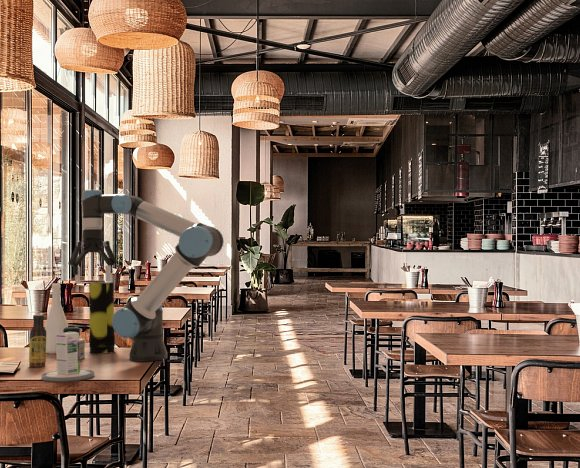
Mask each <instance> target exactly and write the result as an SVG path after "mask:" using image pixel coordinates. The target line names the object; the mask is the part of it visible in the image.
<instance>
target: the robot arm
mask: <svg viewBox="0 0 580 468" xmlns="http://www.w3.org/2000/svg"><path fill="white" fill-rule="evenodd" d="M81 203H82V229H83V230H82V241H81V240H77V241H76V242H75V246H74V250H73V251H72V253H71V256H70V257H69V260H68V263H67V264H68V266H71V267H72V274H73V275H74V282H75V284H81V266H80V264H81V263H82V262H83V260H84V259H85V258H86V256H87V255H88V254H89V253H97V254H98V255H99V256H100V257H101V258H102V260H103V261H104V262H105V263H106V265H105V282H112V278H111V277H112V274H113V266H114V265H116V264H117V262H118V261H117V259H116V257H115V255H114V252H113V251H112V248H111V245H110V244H111V243H110V241H109V240H104V241H103V214H105V215H106V214H119V215H129V216H132V217H134V218H136V219H138V220H140V221H142V222H145V223H148V224H150V225H152V226H154V227H156V228H159V229H161V230H162V231H165V232H168V233H170V234H173V235H175V236H176V237H179V239H178V243H177V244H176V245H175V247H174V249H175V250H174V252H175V253H174V254H172V256H171V257H170V259H169V260H168V261H167V262H166V263H165V265H164V266H163V267H162V268H161V269H160V270H159V272H158V273H157V274H156V275H155V277H153V279H151V281H150V283H149V284H148V285H147V286H146V287H145V289H144V290H143V291H142V292H141V293H140V294H139V295H138V296H137V297H131V299H130V300H129V301H128V302H127V303H126V305H125V306H124V307H121V308H119V309H118V310H116V311H114V315H113V318H112V324H113V328H114V333H116V334H117V335H118V336H119V337H121V338H123V339H133V341H132V345H131V348H130V351H129V355H128V356H129V360H130V361H133V362H154V361H162V360H167V359H168V351H167V348H166V345H165V342H164V339H163V333H164V332H163V331H164V330H163V328H164V327H163V323H164V322H163V319H164V318H163V311H164V310H163V305H162V304H163V303H164V302H165V301H166V300H167V298H168V297H169V296H170V295H171V294H172V292H173V291H174V290H175V289H176V288H177V287H178V285H179V284H180V283H181V282H182V281H183V279H185V277H186V276H187V275H188V273H190V271H191V270H192V269H193V268H198V267H200V266H201V265H202V263H203V262H204V261H205V260H206V259H207V258H208V257H213V256H216V255H218V254H219V253H220V252H221V250H222V249H223V247H224V242H225V241H224V236H223V234H222V233H221V231H220V230H219V229H218V228H216V227H214V226H211V225H207V224H205V223H202V222H197V223H195V222H193V221H190V220H189V219H186V218H184V217H182V216H180V215H177V214H174V213H173V212H170V211H168V210H166V209H163V208H161V207H159V206H156V205H154V204H152V203H150V202H148V201H144V200H143V199H142V198H141V197H139V196H135V195H128V194H126V193H114V194H103V192H102V190H100V189H85V190H83V192H82V201H81ZM82 247H83V248H82ZM103 247H104V249H103ZM81 249H82V250H81ZM80 251H81V252H80Z"/></svg>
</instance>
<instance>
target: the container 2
mask: <svg viewBox="0 0 580 468" xmlns="http://www.w3.org/2000/svg"><path fill="white" fill-rule="evenodd" d="M88 285H89V287H88V290H89V291H88V295H89V297H88V298H89V303H88V304H89V340H88V342H89V344H88V345H89V346H88V347H89V353H91V354H95V355H97V354H98V353H104V354H111V352H112V353H114V352H115V345H116V342H115V341H116V339H115V338H116V336H115V331H114V328H113V324H112V318H113V315H114V314H115V296H114V293H115V292H114V287H115V286H114V285H115V284H114V282H112V281H111V282H106V281H105V282H89V284H88ZM98 355H99V354H98Z"/></svg>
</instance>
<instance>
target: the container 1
mask: <svg viewBox="0 0 580 468" xmlns="http://www.w3.org/2000/svg"><path fill="white" fill-rule="evenodd" d="M65 332H78V333H79V356H80V360H81V359H84V358H85V357H86V356H85V355H86V354H85V353H86V352H85V351H86V350H85V348H86V347H85V344H86V343H85V338H80V337H81V328H80V327H78V326H68V327H66V328H64V329H63V333H65Z"/></svg>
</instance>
